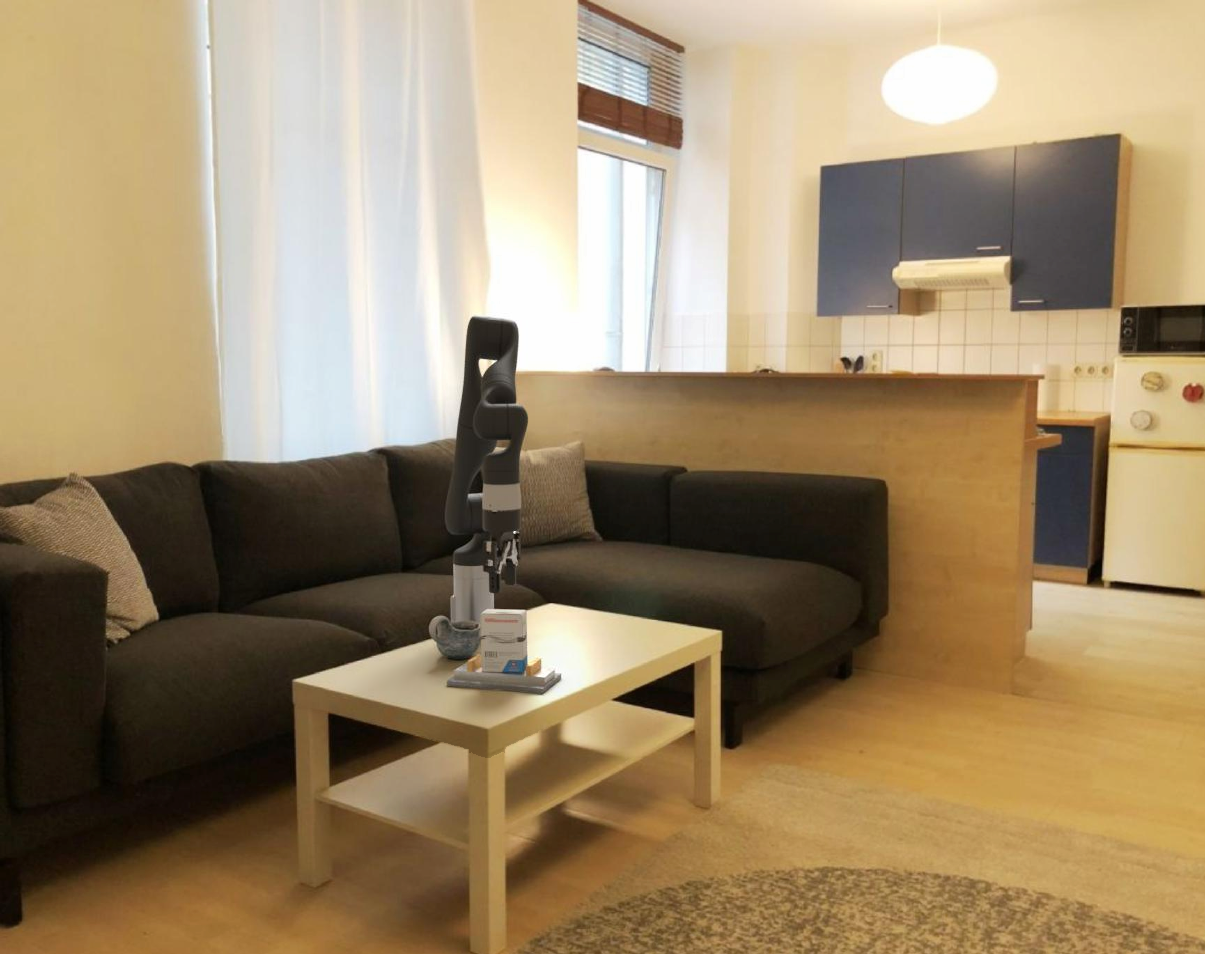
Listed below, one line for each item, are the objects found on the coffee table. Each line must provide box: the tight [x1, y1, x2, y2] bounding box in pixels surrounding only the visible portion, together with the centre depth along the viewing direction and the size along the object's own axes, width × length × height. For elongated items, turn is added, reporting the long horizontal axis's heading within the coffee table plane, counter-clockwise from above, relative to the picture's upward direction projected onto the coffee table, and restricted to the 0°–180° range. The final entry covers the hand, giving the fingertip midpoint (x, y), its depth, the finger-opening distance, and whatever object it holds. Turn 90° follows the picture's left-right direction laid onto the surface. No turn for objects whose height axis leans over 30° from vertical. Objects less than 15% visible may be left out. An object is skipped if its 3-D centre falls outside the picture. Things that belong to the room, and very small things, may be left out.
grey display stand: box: [446, 653, 562, 695], centre depth 220 cm, size 20×11×4 cm, turn 73°
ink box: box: [480, 608, 529, 673], centre depth 220 cm, size 8×5×12 cm, turn 83°
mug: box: [428, 615, 481, 660], centre depth 238 cm, size 10×12×10 cm
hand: (502, 588), depth 219 cm, fingers open, 7 cm apart
